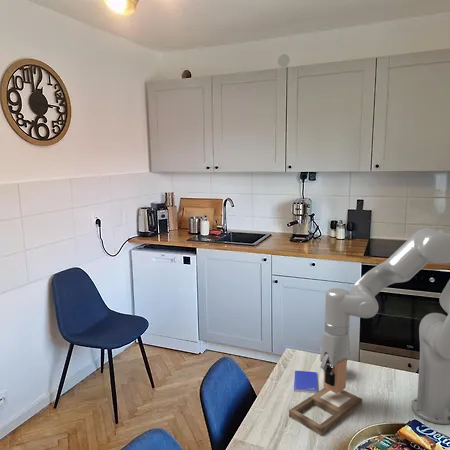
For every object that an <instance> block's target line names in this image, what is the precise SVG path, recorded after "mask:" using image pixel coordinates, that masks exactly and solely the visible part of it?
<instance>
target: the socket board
mask: <svg viewBox="0 0 450 450" xmlns="http://www.w3.org/2000/svg"><path fill="white" fill-rule="evenodd" d="M362 405H363V398H361V397H359V396H358V395H357V396H356V395H355V394H352V393H351V392H348V391H347V390H345V389H343V390H342V391H340V392H339V393H337V394H336V393H334V392H332V391H330V390H328V389H326V388H324V387H323V388H321V390H318V392H317V393H313V394H312V395H310V396H309V397H308V398H306V399H304V400H303V401H301V402H300V403H298V404H297V405H295V406H294V407H292V408H290V409H289V410H288V416H289V417H290V418H292V419H293V420H295V421H297V422H298V423H300V424H301V425H303V426H305V428H308V429H309V430H311V431H313V432H314V433H316V434H318V435H319V436H323V435H324V434H325V433H326V432H328V431H329V430H331V429H332V428H333V427H335V426H336V425H337V424H338V423H340V422H341V421H342V420H343V419H345V418H346V417H348V415H350V414H351V413H353V412H354V411H355V410H356V409H358V408H360V407H361V406H362ZM312 406H316V407H317V408H319V409H321V410H322V411H325V412H327V413H329V414H331V416H330V417H328V418H327V419H326V420H324V421H323V422H322V423H319V422H317V421H315V420H314V419H311V418H310V417H308V416H306V415H304V414H303V413H304V411H306V410H308V409H309V408H311V407H312Z"/></svg>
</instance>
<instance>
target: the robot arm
mask: <svg viewBox="0 0 450 450" xmlns="http://www.w3.org/2000/svg"><path fill="white" fill-rule="evenodd" d="M429 263H432V264H441V265H442V264H446V265H447V264H450V232H441V231H438V230H436V229H433V228H430V227H425V228H420V229H419V230H417V231H416V232H415V233H413V234H412V235H411V236H410V237H409V238H408V239H407V240H406V241H405V242H404V243H403V244H402V245H400V247H398V249H396V250H395V252H394V253H392V254H391V255H390V256H389V257H388V258H387V259H386V260H384V261H383V262H381V263H380V264H378V265H376V266H374V267H373V268H371V269H370V270H368V271H367V272H366V273H365V274H363V275H362V276H361V277H360V278H359V279H358V280H357V281H355V283H354V284H353V285H352V286H351V287H350V289H349V291H348V290H347V289H344V288H338V287H334V288H333V287H332V288H330V289H328V290H326V292H325V308H324V309H325V310H324V313H325V314H324V332H323V335H322V339H321V346H320V349H321V350H320V356H319V357H320V358H319V359H320V362H321V364H320V368H321V370H322V371H323V370H324V372H325V383H327V384H329V385H331V386H334V383H335V374H334V369H335V365H337V363H339V362H341V361H343V360H344V359H347V360H348V358H349V357H350V355H351V352H350V348H351V347H350V346H351V341H350V340H351V339H350V325H351V321H350V320H351V316H352V317H356V318H360V319H361V318H362V319H371V318H374V317H375V316H376V315H377V313H378V311H379V302H378V301H377V299H376V296H377V295H378V294H379V293H380V292H381V291H382V290H384V289H385V288H387V287H389V286H390V285H393V284H396V283H397V284H399V283H405V282H408V281H411V279H412V278H413V277H415V275H416V274H418V273H419V271H421V270H422V269H423V268H424V267H425V266H426V265H427V264H429ZM439 304H440V306H441V308H442V309H443V310H444V312H445V313H447V315H445V314H443V313H441V312H440V313H439V312H431V313H428V314H426V315H425V316H424V317H423V318H422V319H421V321H420V323H419V327H418V334H419V365H418V379H417V380H418V382H417V396H416V397H415V398H413V399H412V401H411V404H410V405H411V410H412V411H413V413H414V414H415V415H416V416H418V417H419V418H421V419H423V420H425V421H427V422H430V423H433V424H438V425H449V424H450V279H449V280H448V281H447V283H446V285H445V287H443V289H442V292H441V294H440V296H439ZM328 361H329V362H330V363H329V362H328ZM328 366H331V369H330V368H328ZM324 372H323V373H324Z"/></svg>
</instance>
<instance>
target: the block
mask: <svg viewBox="0 0 450 450" xmlns="http://www.w3.org/2000/svg"><path fill="white" fill-rule="evenodd" d="M328 362H329V361H328ZM329 363H330V362H329ZM347 365H348V359H344V360H343V361H341V362H339V363H337V365H335V369H334V374H335V383H334V386H331V385H329V384H327V383H325V372H323V388H326V389H328V390H330V391H332V392H334V393H336V394H337V393H339V392H340V391H342V390H345V389H346V387H347V386H346V385H347ZM328 368H330V369H331V366H328Z"/></svg>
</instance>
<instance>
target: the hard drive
mask: <svg viewBox="0 0 450 450" xmlns="http://www.w3.org/2000/svg"><path fill="white" fill-rule="evenodd" d="M293 380H294V382H293V392H296V393H297V392H298V393H308V394H309V393H310V394H315V393H317V392H318V391H319V385H318V373H317V371H306V370H295V371H294V379H293Z"/></svg>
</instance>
